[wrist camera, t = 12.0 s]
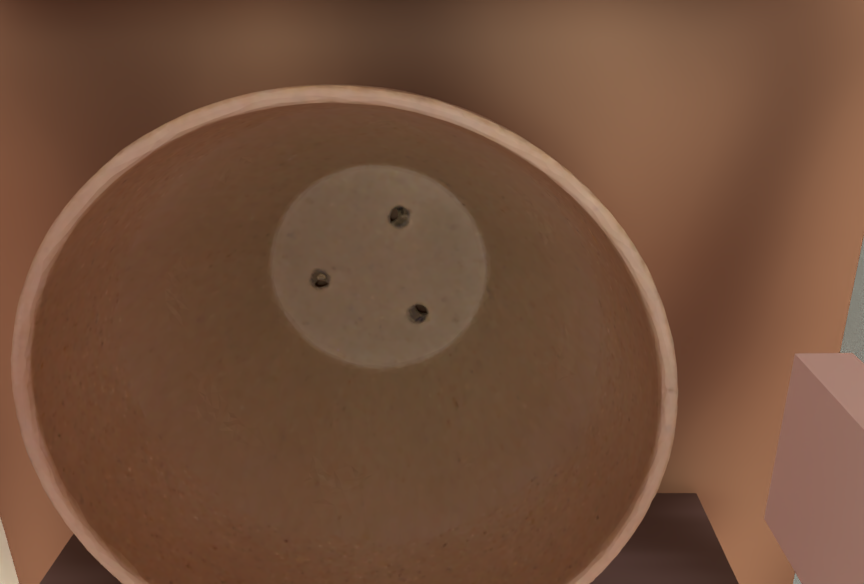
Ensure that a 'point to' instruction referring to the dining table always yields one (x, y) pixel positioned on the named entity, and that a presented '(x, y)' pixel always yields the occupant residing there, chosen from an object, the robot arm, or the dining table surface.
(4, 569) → the dining table surface
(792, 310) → the cup cradle
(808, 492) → the robot arm
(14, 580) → the dining table surface
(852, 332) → the dining table surface
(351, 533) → the flower pot
